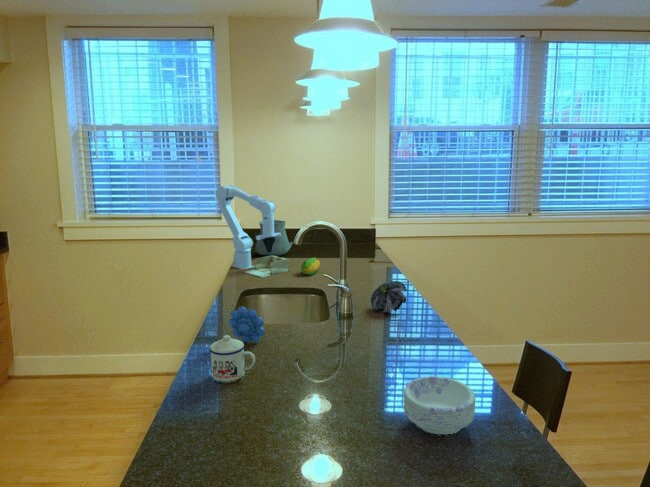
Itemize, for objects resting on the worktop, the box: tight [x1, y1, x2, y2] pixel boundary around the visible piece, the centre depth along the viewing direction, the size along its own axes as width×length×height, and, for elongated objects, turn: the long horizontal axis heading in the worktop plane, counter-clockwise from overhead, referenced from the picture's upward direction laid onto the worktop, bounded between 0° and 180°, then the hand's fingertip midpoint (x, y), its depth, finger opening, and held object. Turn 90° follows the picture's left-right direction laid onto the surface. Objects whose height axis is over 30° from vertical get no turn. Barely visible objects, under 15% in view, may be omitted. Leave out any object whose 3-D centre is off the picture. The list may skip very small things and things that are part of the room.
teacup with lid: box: [209, 334, 256, 381], centre depth 132 cm, size 12×9×12 cm
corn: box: [300, 257, 321, 276], centre depth 246 cm, size 7×8×20 cm
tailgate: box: [243, 269, 271, 278], centre depth 243 cm, size 14×1×6 cm
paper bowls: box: [403, 375, 476, 435], centre depth 108 cm, size 15×15×8 cm
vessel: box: [255, 219, 293, 257], centre depth 289 cm, size 22×22×20 cm
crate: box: [254, 255, 290, 276], centre depth 249 cm, size 14×11×7 cm
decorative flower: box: [370, 280, 408, 316], centre depth 188 cm, size 14×12×15 cm
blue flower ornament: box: [228, 306, 266, 343], centre depth 155 cm, size 12×7×12 cm, turn 84°
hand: (269, 252), depth 252 cm, fingers closed
